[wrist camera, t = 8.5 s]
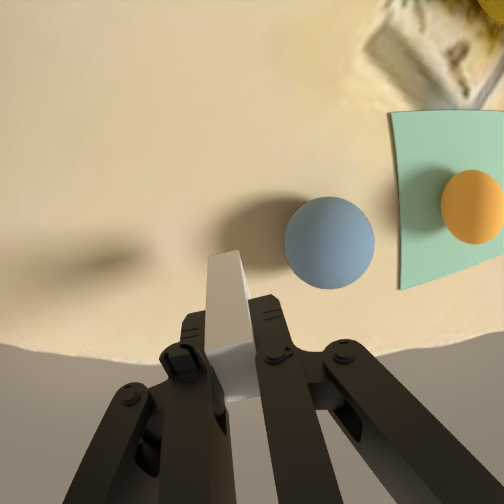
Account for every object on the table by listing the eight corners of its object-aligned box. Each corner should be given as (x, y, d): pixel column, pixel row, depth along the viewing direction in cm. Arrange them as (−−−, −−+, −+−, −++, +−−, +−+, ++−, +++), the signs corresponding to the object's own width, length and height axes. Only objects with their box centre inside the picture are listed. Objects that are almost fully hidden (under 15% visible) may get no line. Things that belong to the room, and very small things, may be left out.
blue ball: (389, 217, 14) (369, 189, 19) (279, 211, 15) (286, 185, 20) (373, 309, 16) (361, 264, 21) (278, 305, 17) (286, 260, 22)
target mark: (399, 289, 23) (400, 290, 23) (389, 112, 18) (391, 112, 18) (505, 251, 23) (507, 252, 23) (509, 111, 18) (510, 112, 17)
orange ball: (515, 192, 13) (510, 173, 17) (440, 170, 17) (449, 156, 20) (495, 267, 16) (497, 235, 19) (429, 244, 19) (441, 217, 23)
